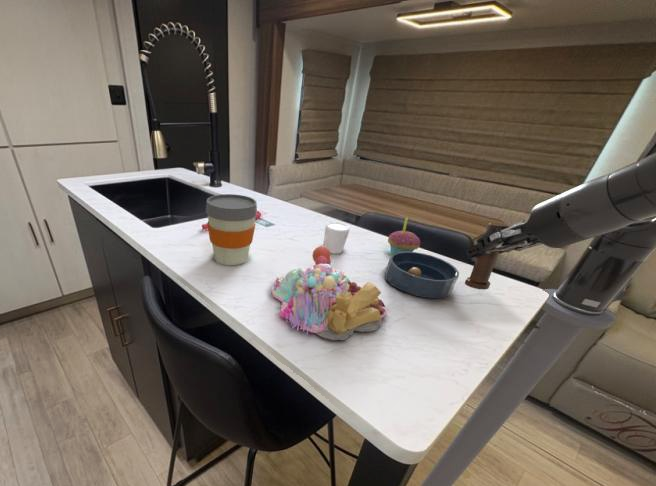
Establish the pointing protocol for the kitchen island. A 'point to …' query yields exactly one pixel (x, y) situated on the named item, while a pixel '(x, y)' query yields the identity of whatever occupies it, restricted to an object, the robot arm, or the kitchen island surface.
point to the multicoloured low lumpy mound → (328, 300)
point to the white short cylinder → (335, 237)
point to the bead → (415, 271)
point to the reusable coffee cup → (231, 227)
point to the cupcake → (403, 240)
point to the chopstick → (204, 226)
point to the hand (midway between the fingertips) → (475, 253)
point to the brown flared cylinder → (484, 265)
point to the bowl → (434, 274)
